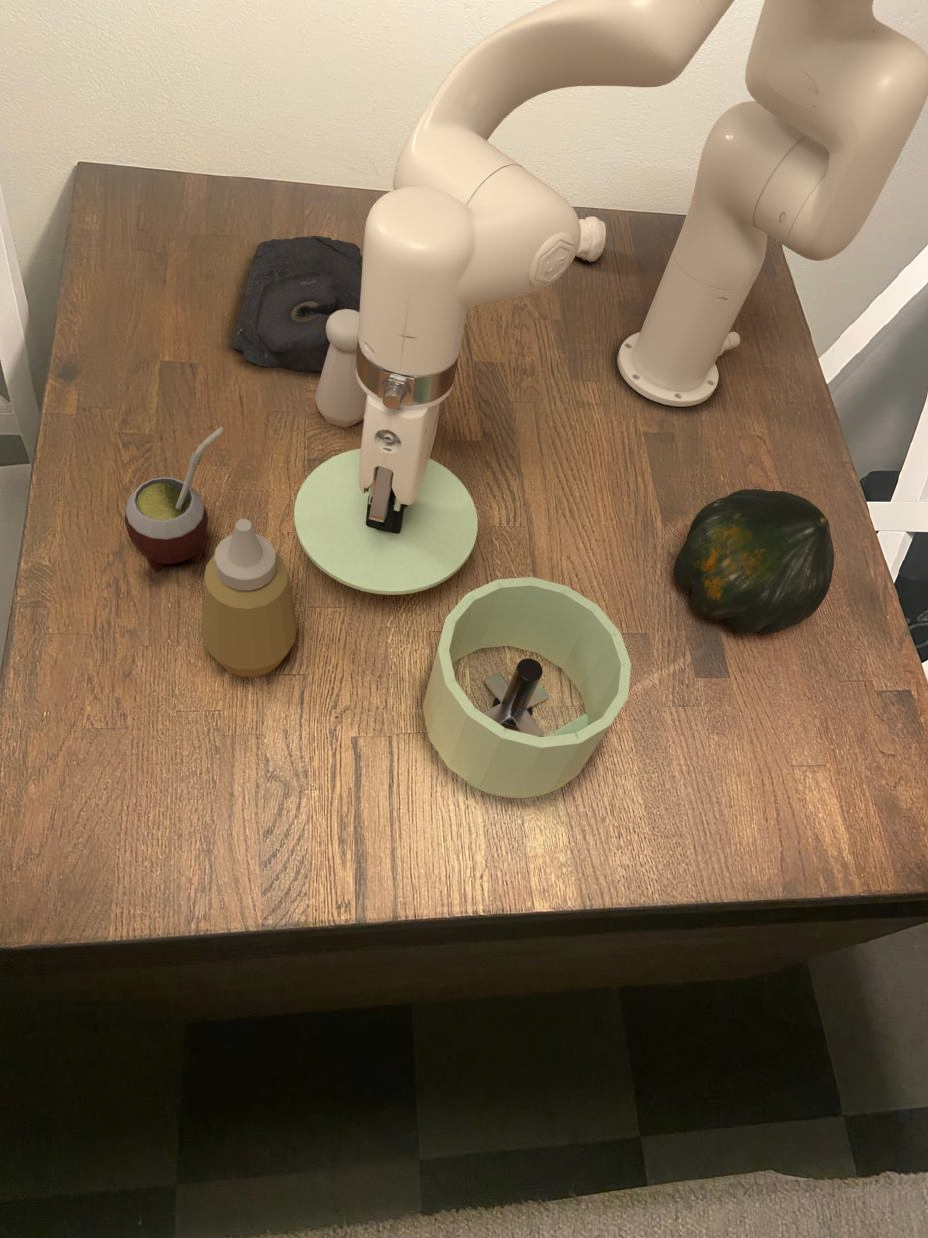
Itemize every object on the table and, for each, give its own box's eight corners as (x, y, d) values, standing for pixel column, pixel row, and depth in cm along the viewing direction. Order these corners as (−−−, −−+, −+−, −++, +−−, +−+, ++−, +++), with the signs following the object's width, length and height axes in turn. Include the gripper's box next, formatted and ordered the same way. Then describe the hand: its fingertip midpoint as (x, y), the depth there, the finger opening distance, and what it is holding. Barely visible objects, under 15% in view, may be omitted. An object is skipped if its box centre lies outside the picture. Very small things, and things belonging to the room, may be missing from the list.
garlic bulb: (548, 241, 124) (558, 204, 119) (590, 244, 125) (601, 208, 120) (554, 267, 121) (565, 230, 116) (598, 270, 122) (610, 233, 117)
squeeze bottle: (257, 707, 79) (251, 588, 64) (184, 658, 81) (162, 530, 66) (314, 644, 84) (321, 519, 69) (244, 598, 85) (236, 466, 70)
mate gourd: (118, 566, 85) (90, 454, 72) (164, 508, 89) (145, 393, 77) (190, 597, 84) (174, 489, 72) (233, 537, 88) (225, 427, 76)
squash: (643, 503, 92) (745, 503, 79) (758, 477, 98) (872, 474, 84) (659, 638, 95) (760, 661, 82) (771, 606, 101) (883, 623, 87)
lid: (414, 433, 91) (421, 383, 86) (510, 554, 85) (525, 508, 79) (261, 491, 84) (258, 441, 79) (353, 628, 78) (357, 583, 72)
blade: (518, 667, 85) (538, 621, 79) (563, 726, 82) (587, 683, 76) (456, 700, 82) (471, 654, 76) (501, 762, 80) (520, 721, 73)
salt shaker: (360, 441, 98) (369, 345, 87) (308, 427, 98) (311, 330, 87) (374, 404, 101) (384, 308, 91) (323, 391, 101) (328, 293, 91)
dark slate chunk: (377, 260, 115) (380, 226, 111) (366, 381, 103) (370, 348, 99) (253, 242, 113) (252, 207, 109) (228, 363, 101) (225, 329, 97)
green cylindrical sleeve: (528, 617, 89) (554, 551, 80) (629, 745, 83) (669, 690, 74) (390, 686, 82) (402, 623, 74) (488, 831, 76) (514, 781, 68)
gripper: (433, 448, 64) (407, 594, 79) (475, 305, 73) (445, 461, 88) (328, 422, 64) (323, 574, 79) (383, 282, 73) (369, 442, 88)
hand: (387, 513), depth 83 cm, fingers closed on lid, 2 cm apart
